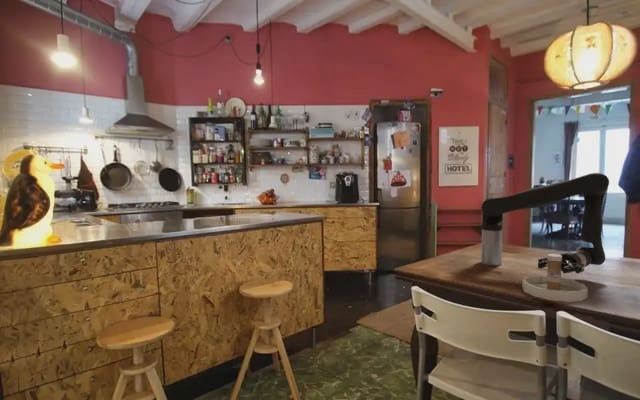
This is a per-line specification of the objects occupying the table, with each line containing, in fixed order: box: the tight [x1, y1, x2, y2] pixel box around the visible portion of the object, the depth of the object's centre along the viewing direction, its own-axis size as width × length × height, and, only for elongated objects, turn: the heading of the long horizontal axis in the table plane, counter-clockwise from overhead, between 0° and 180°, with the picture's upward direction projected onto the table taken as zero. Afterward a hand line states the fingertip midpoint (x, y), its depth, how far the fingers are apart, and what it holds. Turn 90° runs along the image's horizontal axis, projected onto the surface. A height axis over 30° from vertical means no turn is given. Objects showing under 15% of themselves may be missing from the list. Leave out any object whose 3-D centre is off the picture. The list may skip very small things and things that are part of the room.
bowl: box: [521, 275, 589, 303], centre depth 136 cm, size 20×20×4 cm
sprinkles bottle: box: [546, 253, 562, 291], centre depth 135 cm, size 5×5×14 cm
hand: (551, 268), depth 134 cm, fingers open, 8 cm apart
